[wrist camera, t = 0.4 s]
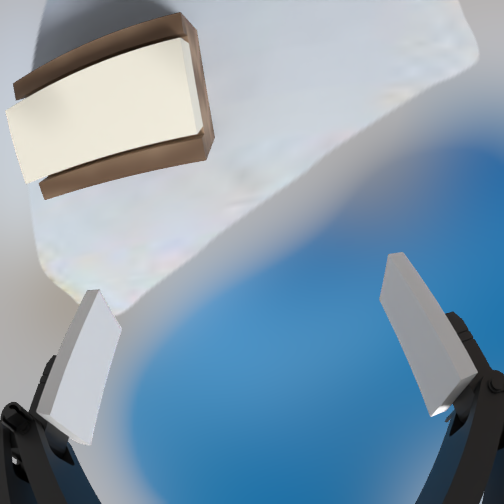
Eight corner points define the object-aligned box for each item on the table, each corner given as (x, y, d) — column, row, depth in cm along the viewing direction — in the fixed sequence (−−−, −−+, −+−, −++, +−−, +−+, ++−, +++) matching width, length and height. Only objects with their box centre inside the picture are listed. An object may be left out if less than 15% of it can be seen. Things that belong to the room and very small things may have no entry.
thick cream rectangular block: (28, 103, 21) (5, 110, 17) (188, 43, 20) (180, 37, 17) (46, 170, 25) (26, 184, 22) (203, 126, 24) (197, 134, 21)
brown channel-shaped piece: (61, 75, 26) (12, 83, 17) (196, 30, 25) (180, 12, 17) (83, 168, 33) (44, 200, 25) (214, 137, 33) (206, 160, 24)
